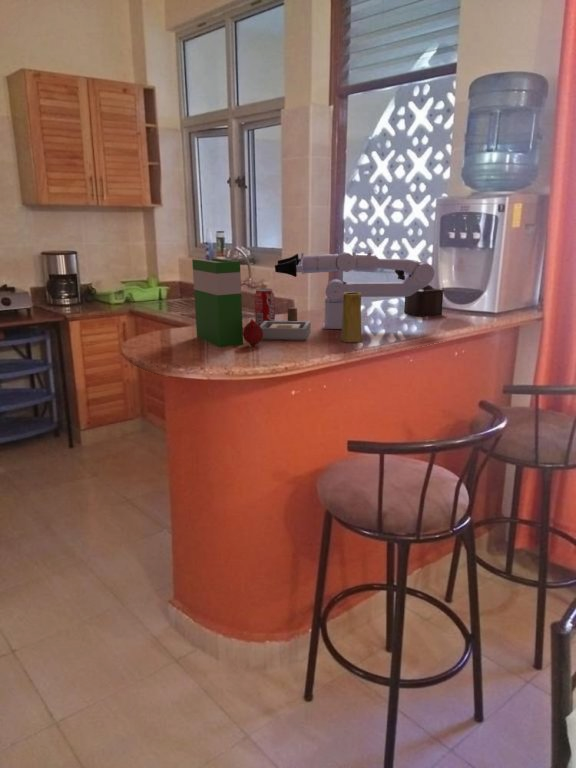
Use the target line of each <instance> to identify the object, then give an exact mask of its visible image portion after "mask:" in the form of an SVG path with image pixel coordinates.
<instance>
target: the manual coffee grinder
mask: <svg viewBox="0 0 576 768" xmlns="http://www.w3.org/2000/svg"><path fill="white" fill-rule="evenodd" d="M394 273H395V274H396V275H397V280H401V281H404V280H405V279H406V276H405V272H404V271H403V270H394ZM443 297H444V289H439V288H434V287H433V286H432V285H430V284H428V286H426V287H424V288H422V289H420V290H419V291H417V292H416V293H414V294H412V295H411V296H407V297H404V307H403V313H404V314H406V315H410V316H413V317H418V318H421V317H422V318H424V317H426V318H427V317H434V316H435V317H436V316H442V314H443V300H444V298H443Z"/></svg>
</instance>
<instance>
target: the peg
mask: <svg viewBox="0 0 576 768" xmlns="http://www.w3.org/2000/svg"><path fill="white" fill-rule="evenodd" d="M286 310H287V321H298V307H287V309H286Z"/></svg>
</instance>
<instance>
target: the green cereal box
mask: <svg viewBox="0 0 576 768" xmlns="http://www.w3.org/2000/svg"><path fill="white" fill-rule="evenodd" d="M191 261H192V262H191V263H192V275H193V277H192V279H193V291H194V293H193V294H194V295H193V296H194V310H195V312H194V313H195V326H196V327H195V328H196V338H198V339H200V338H201V340H202V339H203V341H204V340H205V342H208V343H209V344H211V343H212V344H211V345H214V346H216V347H218V348H225V347H227V348H228V347H232V346H241V345H244V337H243V330H244V327H243V326H244V325H243V308H242V307H243V305H242V304H243V303H242V301H243V300H242V282H241V281H242V280H241V279H242V277H241V261H240V260H239V261H238V260H232V259H224V258H223V259H222V258H216V257H215V258H211V260H202V259H196V258H193V259H191Z"/></svg>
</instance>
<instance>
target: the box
mask: <svg viewBox="0 0 576 768" xmlns="http://www.w3.org/2000/svg"><path fill="white" fill-rule="evenodd" d="M260 327H261V328H262V330H263V338H262V340H261V341H298V342H299V341H301V342H302V341H303V342H304V341H305V340H306V341H308V337H309V336H310V334H311V321H309V320H307V321H306V320H305V321H303V320H297V321H288V320H275V321H264V322H263V323H262V324H261V325H260ZM306 341H305V342H306Z"/></svg>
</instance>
